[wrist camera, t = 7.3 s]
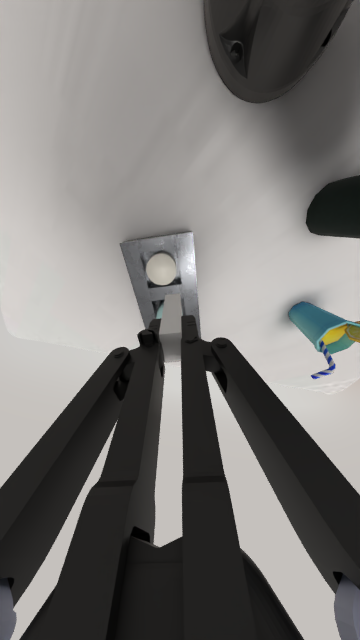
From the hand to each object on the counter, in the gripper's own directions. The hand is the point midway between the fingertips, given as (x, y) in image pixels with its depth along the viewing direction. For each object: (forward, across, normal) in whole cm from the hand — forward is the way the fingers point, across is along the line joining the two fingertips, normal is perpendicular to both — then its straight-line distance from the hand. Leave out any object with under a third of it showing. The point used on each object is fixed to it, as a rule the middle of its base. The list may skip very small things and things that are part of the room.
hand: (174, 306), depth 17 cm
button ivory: (+16, -2, 0) cm, 16 cm away
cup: (+18, +28, -15) cm, 36 cm away
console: (+18, -2, -8) cm, 20 cm away
